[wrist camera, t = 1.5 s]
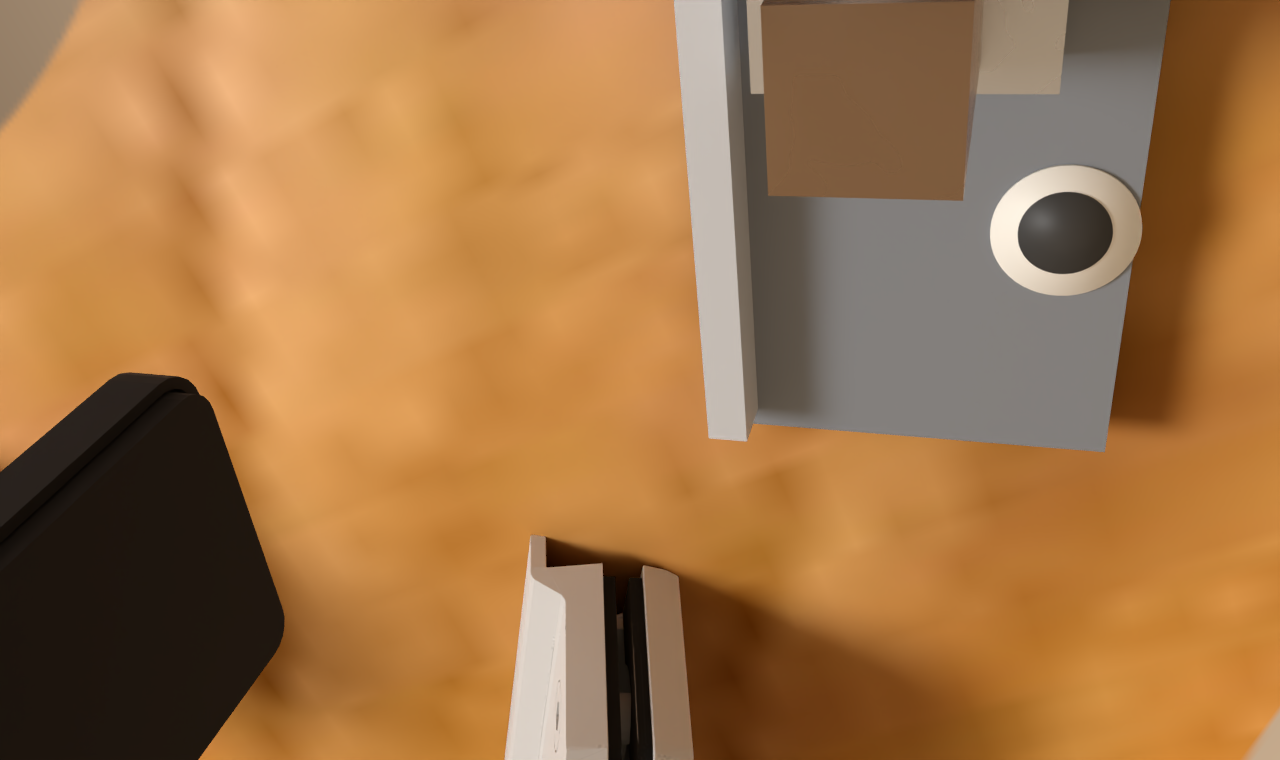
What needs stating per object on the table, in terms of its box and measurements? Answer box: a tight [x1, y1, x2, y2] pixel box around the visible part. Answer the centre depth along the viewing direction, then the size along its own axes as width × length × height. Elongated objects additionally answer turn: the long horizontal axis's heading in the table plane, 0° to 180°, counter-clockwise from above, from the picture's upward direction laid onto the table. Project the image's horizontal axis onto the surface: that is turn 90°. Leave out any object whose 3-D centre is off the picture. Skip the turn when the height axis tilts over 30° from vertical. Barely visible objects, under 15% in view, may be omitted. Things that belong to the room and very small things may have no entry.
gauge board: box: [674, 0, 1171, 452], centre depth 25 cm, size 18×10×6 cm, turn 6°
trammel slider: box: [746, 0, 1069, 201], centre depth 20 cm, size 4×9×8 cm, turn 96°
